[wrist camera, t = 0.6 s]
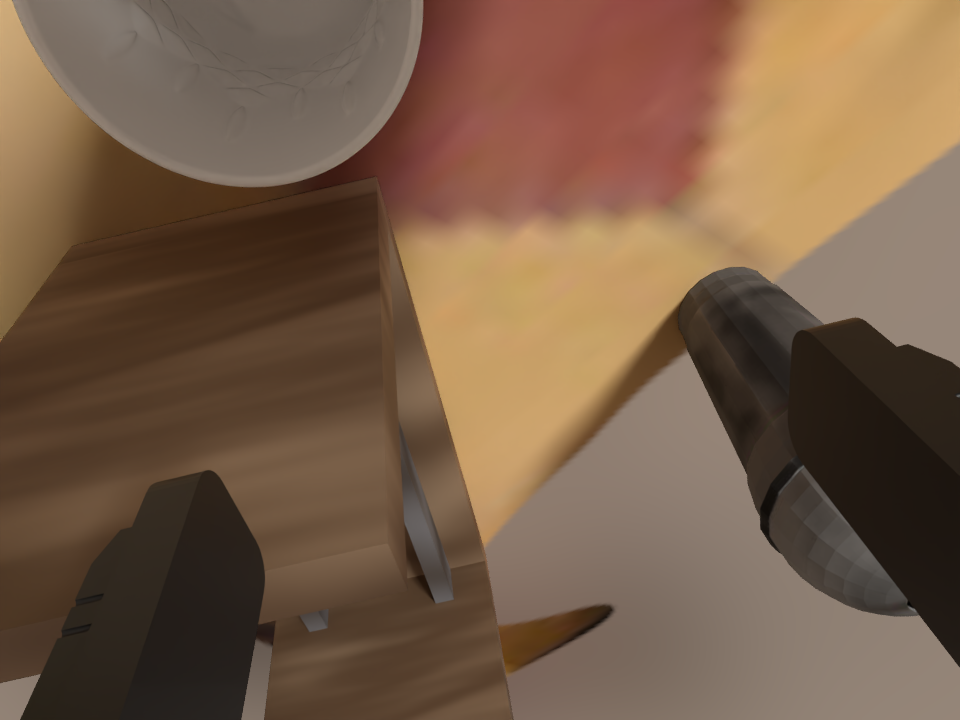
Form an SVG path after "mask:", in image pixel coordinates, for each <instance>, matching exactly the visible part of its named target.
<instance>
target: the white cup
mask: <svg viewBox="0 0 960 720" xmlns="http://www.w3.org/2000/svg"><path fill="white" fill-rule="evenodd" d="M12 1H13V4H14V7H15V9H16V12H17V14H18V17H19V19H20V21H21V23H22V26H23V28H24V30H25V32H26V34H27V36H28V38H29V40H30V41H31V43H32V45H33V47H34V49H35V50H36V52H37V54H38V55H39V57H40V59H41V60H42V62H43V63H44V65H45V66H46V68H47V69H48V71H49V72H50V73H51V75H52V76H53V78H54V79H55V80H56V82H57V83H58V84H59V85H60V87H61V88H62V89H63V90H64V92H65V93H66V94H67V95H68V96H69V97H70V98H71V100H72V101H73V102H74V103H75V104H76V105H77V106H78V107H79V108H80V109H81V110H82V111H83V112H84V113H85V114H86V115H87V116H88V117H89V118H90V119H91V120H92V121H93V122H94V123H96V124H97V125H98V126H99V127H100V128H101V129H103V130H104V131H105V132H106V133H108V134H109V135H110V136H111V137H113V138H114V139H115V140H117V141H118V142H120V143H121V144H123V145H124V146H126V147H127V148H129V149H130V150H132V151H133V152H135V153H137V154H138V155H140V156H142V157H143V158H145V159H147V160H149V161H151V162H153V163H155V164H157V165H159V166H161V167H163V168H166V169H168V170H170V171H173V172H175V173H178V174H181V175H184V176H187V177H190V178H193V179H197V180H200V181H204V182H209V183H213V184H219V185H225V186H234V187H271V186H279V185H285V184H290V183H294V182H298V181H302V180H305V179H308V178H311V177H314V176H317V175H319V174H321V173H324V172H326V171H328V170H330V169H332V168H334V167H336V166H337V165H339V164H341V163H342V162H344V161H346V160H347V159H349V158H350V157H351V156H353V155H354V154H355V153H357V152H358V151H359V150H360V149H362V148H363V147H364V146H365V145H366V144H367V143H368V142H369V141H370V140H371V139H372V138H373V137H374V136H375V135H376V134H377V133H378V132H379V131H380V130H381V128H382V127H383V126H384V125H385V123H386V122H387V121H388V119H389V118H390V116H391V115H392V113H393V112H394V110H395V109H396V107H397V105H398V104H399V102H400V100H401V98H402V96H403V94H404V92H405V90H406V88H407V85H408V83H409V80H410V78H411V75H412V72H413V69H414V66H415V62H416V59H417V55H418V50H419V45H420V40H421V33H422V24H423V0H12Z"/></svg>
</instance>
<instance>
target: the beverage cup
mask: <svg viewBox="0 0 960 720" xmlns="http://www.w3.org/2000/svg"><path fill="white" fill-rule="evenodd" d="M678 324H679V330H680V331H681V333H682V335H683V336H684V340H685V342H686V345H687V350H688V352H689V354H690V356H691V358H692V360H693V363H694V365H695V367H696V369H697V371H698V373H699V375H700V377H701V379H702V381H703V383H704V386H705V388H706V390H707V392H708V394H709V396H710V398H711V400H712V402H713V404H714V407H715V408H716V411H717V413H718V415H719V417H720V419H721V421H722V423H723V425H724V427H725V430H726V431H727V434H728V436H729V438H730V440H731V442H732V444H733V446H734V448H735V450H736V452H737V455H738V457H739V459H740V461H741V463H742V465H743V467H744V469H745V471H746V474H747V479H748V480H747V481H748V486H749V489H750V492H751V495H752V498H753V502H754V504H755V508H756V510H757V512H758V514H759V515H760V528H761V530H762V532H763V533H764V535H765V537H766V538H767V540H768V541H769V543H770V544H771V545H772V546H773V547H774V548H775V549H776V550H777V551H778V552H779V553H781V554H782V555H783V556H784V558H785V559H786V560H787V562H788V564H789V565H790V566H791V567H792V568H793V569H794V570H795V571H796V572H797V573H798V574H799V575H800V577H802V578H803V579H804V580H805V581H807V582H808V583H809V584H811V585H812V586H813V587H815V588H816V589H818V590H819V591H821V592H823V593H825V594H827V595H828V596H830V597H832V598H834V599H836V600H838V601H840V602H842V603H843V604H845V605H848V606H850V607H853V608H855V609H858V610H861V611H865V612H870V613H875V614H880V615H888V616H917V615H919V614H918V613H917V611H916V610H915V609H914V608H913V606H912V605H911V604H910V602H909V601H908V600H907V599H906V597H905V596H904V595H903V593H902V592H901V591H900V590H899V588H898V587H897V586H896V584H895V583H894V582H893V580H892V579H891V578H890V577H889V575H888V574H887V573H886V571H885V570H884V569H883V568H882V566H881V565H880V564H879V562H878V561H877V560H876V558H875V557H874V556H873V555H872V553H871V552H870V551H869V549H868V548H867V547H866V546H865V544H864V543H863V542H862V540H861V539H860V538H859V537H858V535H857V534H856V533H855V531H854V530H853V529H852V527H851V526H850V525H849V524H848V522H847V521H846V520H845V518H844V517H843V516H842V515H841V513H840V512H839V511H838V509H837V508H836V507H835V505H834V504H833V503H832V502H831V500H830V499H829V498H828V496H827V495H826V494H825V493H824V491H823V490H822V489H821V487H820V486H819V485H818V484H817V482H816V481H815V480H814V478H813V477H812V476H811V474H810V473H809V472H808V471H807V469H806V468H805V467H804V465H803V464H802V463H801V461H800V459H799V458H798V456H797V454H796V452H795V449H794V447H793V444H792V441H791V438H790V434H789V429H788V403H789V385H790V367H791V349H792V341H793V338H794V336H795V334H796V333H797V332H798V331H800V330H804V329H808V328H812V327H817V326H821V325H824V324H823V323H822V322H821V321H820V320H818V319H817V318H816V317H815V316H814V315H812V314H811V313H810V312H809V311H807V310H806V309H805V308H804V307H803V306H801V305H800V304H799V303H798V302H797V301H795V300H794V299H793V298H792V297H790V296H789V295H788V294H787V293H786V292H784V291H783V290H782V289H781V288H780V287H778V286H777V285H775V284H772V283H771V282H770V281H768V280H767V279H766V278H765V277H763V276H762V275H761V274H760V273H759V272H758V271H755V270H752V269H749V268H746V267H730V268H726V269H723V270H720V271H716V272H714V273H712V274H710V275H709V276H707V277H705V278H704V279H702V280H700V281H699V282H698V283H697V284H696V285H695V286H694V287H693V288H692V289H691V290H690V291H689V292H688V294H687V295H686V297H685V299H684V300H683V302H682V304H681V306H680V310H679V314H678Z"/></svg>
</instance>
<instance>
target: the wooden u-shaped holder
mask: <svg viewBox="0 0 960 720" xmlns="http://www.w3.org/2000/svg"><path fill="white" fill-rule="evenodd" d="M206 470H211V471H214V472H215V473H216V474H217V475H218V476H219V477H220V478H221V480H222V482H223V483H224V485H225V487H226V489H227V490H228V492H229V494H230V496H231V497H232V499H233V501H234V503H235V505H236V506H237V508H238V510H239V512H240V513H241V515H242V517H243V519H244V520H245V522H246V524H247V526H248V528H249V529H250V531H251V533H252V535H253V536H254V538H255V540H256V542H257V544H258V546H259V548H260V551H261V554H262V558H263V563H264V570H265V588H264V595H263V600H262V606H261V611H260V617H259V622H258V625H259V624H264V623H268V622H272V621H276V624H275V632H274V641H273V649H272V658H271V666H270V675H269V683H268V692H267V701H266V709H265V717H264V720H514V719H513V714H512V708H511V702H510V696H509V690H508V684H507V678H506V672H505V666H504V660H503V654H502V648H501V642H500V636H499V630H498V625H497V619H496V613H495V607H494V602H493V595H492V589H491V583H490V577H489V571H488V566H487V560H486V554H485V551H484V547H483V544H482V540H481V537H480V533H479V530H478V526H477V523H476V519H475V516H474V513H473V509H472V506H471V502H470V499H469V495H468V492H467V488H466V485H465V481H464V478H463V474H462V471H461V467H460V464H459V460H458V457H457V453H456V450H455V447H454V443H453V440H452V436H451V433H450V429H449V426H448V422H447V419H446V415H445V412H444V408H443V405H442V401H441V398H440V394H439V391H438V387H437V384H436V381H435V377H434V374H433V370H432V367H431V363H430V360H429V356H428V353H427V349H426V346H425V342H424V339H423V335H422V332H421V328H420V325H419V322H418V318H417V315H416V311H415V308H414V304H413V301H412V297H411V294H410V290H409V287H408V283H407V280H406V276H405V273H404V269H403V266H402V262H401V259H400V256H399V252H398V249H397V245H396V242H395V238H394V235H393V231H392V228H391V224H390V221H389V217H388V214H387V210H386V207H385V203H384V200H383V196H382V193H381V190H380V186H379V183H378V179H377V176H376V177H372V178H368V179H363V180H359V181H355V182H350V183H346V184H341V185H337V186H333V187H328V188H324V189H320V190H315V191H311V192H306V193H302V194H298V195H293V196H289V197H285V198H280V199H276V200H272V201H267V202H263V203H258V204H254V205H250V206H245V207H241V208H237V209H232V210H228V211H223V212H219V213H215V214H210V215H206V216H202V217H197V218H193V219H189V220H184V221H180V222H175V223H171V224H167V225H162V226H158V227H154V228H149V229H145V230H140V231H136V232H132V233H127V234H123V235H119V236H114V237H110V238H105V239H101V240H97V241H92V242H88V243H84V244H79V245H75V246H72V247H71V248H70V249H69V251H68V252H67V253H66V255H65V256H64V257H63V259H62V260H61V262H60V263H59V264H58V266H57V267H56V268H55V270H54V271H53V272H52V274H51V275H50V276H49V278H48V279H47V280H46V282H45V283H44V284H43V286H42V287H41V288H40V290H39V291H38V292H37V294H36V295H35V296H34V298H33V299H32V300H31V302H30V303H29V305H28V306H27V307H26V309H25V310H24V311H23V313H22V314H21V315H20V317H19V318H18V319H17V321H16V322H15V323H14V325H13V326H12V327H11V329H10V330H9V331H8V333H7V334H6V335H5V337H4V338H3V339H2V341H1V342H0V683H3V682H7V681H11V680H16V679H20V678H24V677H29V676H34V675H38V674H41V673H42V671H43V669H44V667H45V664H46V662H47V660H48V658H49V656H50V653H51V651H52V649H53V647H54V645H55V642H56V640H57V639H58V638H61V637H62V632H61V629H62V627H63V625H64V623H65V621H66V618H67V616H68V614H69V612H70V610H71V607H75V606H76V601H75V599H76V596H77V594H78V592H79V590H80V588H81V585H82V583H83V581H84V579H85V577H86V575H87V572H88V570H89V568H90V566H91V564H92V563H93V561H94V560H95V559H96V558H97V557H98V556H99V554H100V553H101V552H102V551H103V550H104V548H105V547H106V546H107V545H108V544H109V543H110V541H111V540H112V539H113V538H114V537H115V536H116V534H117V533H118V532H119V531H120V530H121V529H125V528H130V527H132V525H133V523H134V521H135V518H136V516H137V513H138V511H139V509H140V506H141V504H142V501H143V499H144V497H145V494H146V492H147V490H148V488H149V487H150V486H151V485H152V484H154V483H156V482H160V481H164V480H168V479H173V478H177V477H181V476H185V475H189V474H194V473H198V472H202V471H206Z"/></svg>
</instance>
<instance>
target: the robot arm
mask: <svg viewBox="0 0 960 720" xmlns="http://www.w3.org/2000/svg"><path fill="white" fill-rule="evenodd" d="M788 429H789V434H790V438H791V441H792V444H793V447H794V449H795V452H796V454H797V456H798V458H799V459H800V461H801V463H802V464H803V465H804V467H805V468H806V469H807V471H808V472H809V473H810V474H811V476H812V477H813V478H814V480H815V481H816V482H817V484H818V485H819V486H820V487H821V489H822V490H823V491H824V493H825V494H826V495H827V496H828V498H829V499H830V500H831V502H832V503H833V504H834V505H835V507H836V508H837V509H838V511H839V512H840V513H841V515H842V516H843V517H844V518H845V520H846V521H847V522H848V524H849V525H850V526H851V527H852V529H853V530H854V531H855V533H856V534H857V535H858V537H859V538H860V539H861V540H862V542H863V543H864V544H865V546H866V547H867V548H868V549H869V551H870V552H871V553H872V555H873V556H874V557H875V558H876V560H877V561H878V562H879V564H880V565H881V566H882V568H883V569H884V570H885V571H886V573H887V574H888V575H889V577H890V578H891V579H892V580H893V582H894V583H895V584H896V586H897V587H898V588H899V590H900V591H901V592H902V593H903V595H904V596H905V597H906V599H907V600H908V601H909V602H910V604H911V605H912V606H913V608H914V609H915V610H916V611H917V613H918V614H919V615H920V616H921V618H922V619H923V621H924V622H925V623H926V624H927V626H928V627H929V628H930V630H931V631H932V632H933V633H934V635H935V636H936V637H937V639H938V640H939V641H940V642H941V644H942V645H943V646H944V648H945V649H946V650H947V652H948V653H949V654H950V655H951V657H952V658H953V659H954V661H955V662H956V663H957V664H958V666H959V667H960V368H959V367H957V366H956V365H955V364H953V363H952V362H950V361H948V360H946V359H943V358H941V357H938V356H936V355H933V354H931V353H928V352H926V351H923V350H921V349H919V348H916V347H914V346H911V345H909V344H907V345H903V346H899V347H896V346H895V345H894V344H893V343H892V342H890V341H889V340H888V339H887V338H885V337H884V336H883V335H882V334H881V333H879V332H878V331H877V330H876V329H875V328H873V327H872V326H871V325H870V324H868V323H867V322H866V321H864V320H863V319H860V318H850V319H846V320H842V321H838V322H833V323H829V324H825V325H821V326H817V327H812V328H808V329H804V330H800V331H798V332H797V333H796V334H795V336H794V338H793V341H792V349H791V367H790V385H789V403H788ZM264 588H265V570H264V563H263V558H262V554H261V551H260V548H259V546H258V544H257V542H256V540H255V538H254V536H253V535H252V533H251V531H250V529H249V528H248V526H247V524H246V522H245V520H244V519H243V517H242V515H241V513H240V512H239V510H238V508H237V506H236V505H235V503H234V501H233V499H232V497H231V496H230V494H229V492H228V490H227V489H226V487H225V485H224V483H223V482H222V480H221V478H220V477H219V476H218V475H217V474H216V473H215V472H214V471H211V470H206V471H202V472H198V473H194V474H189V475H185V476H181V477H177V478H173V479H168V480H164V481H160V482H156V483H154V484H152V485H151V486H150V487H149V488H148V490H147V492H146V494H145V497H144V499H143V501H142V504H141V506H140V509H139V511H138V513H137V516H136V518H135V521H134V523H133V525H132V527H130V528H125V529H121V530H120V531H119V532H118V533H117V534H116V536H115V537H114V538H113V539H112V540H111V541H110V543H109V544H108V545H107V546H106V547H105V548H104V550H103V551H102V552H101V553H100V554H99V556H98V557H97V558H96V559H95V560H94V561H93V563H92V564H91V566H90V568H89V570H88V572H87V575H86V577H85V579H84V581H83V583H82V585H81V588H80V590H79V592H78V594H77V596H76V599H75V601H76V606H75V607H71V610H70V612H69V614H68V616H67V618H66V621H65V623H64V625H63V627H62V629H61V632H62V637H61V638H58V639H57V640H56V642H55V645H54V647H53V649H52V651H51V653H50V656H49V658H48V660H47V662H46V664H45V667H44V669H43V671H42V673H41V675H40V678H39V680H38V682H37V684H36V687H35V688H34V691H33V693H32V695H31V697H30V699H29V702H28V704H27V706H26V708H25V710H24V713H23V715H22V717H21V719H20V720H241V717H242V712H243V706H244V701H245V695H246V689H247V684H248V678H249V672H250V667H251V661H252V656H253V650H254V645H255V639H256V634H257V628H258V622H259V617H260V611H261V606H262V600H263V595H264Z"/></svg>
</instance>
